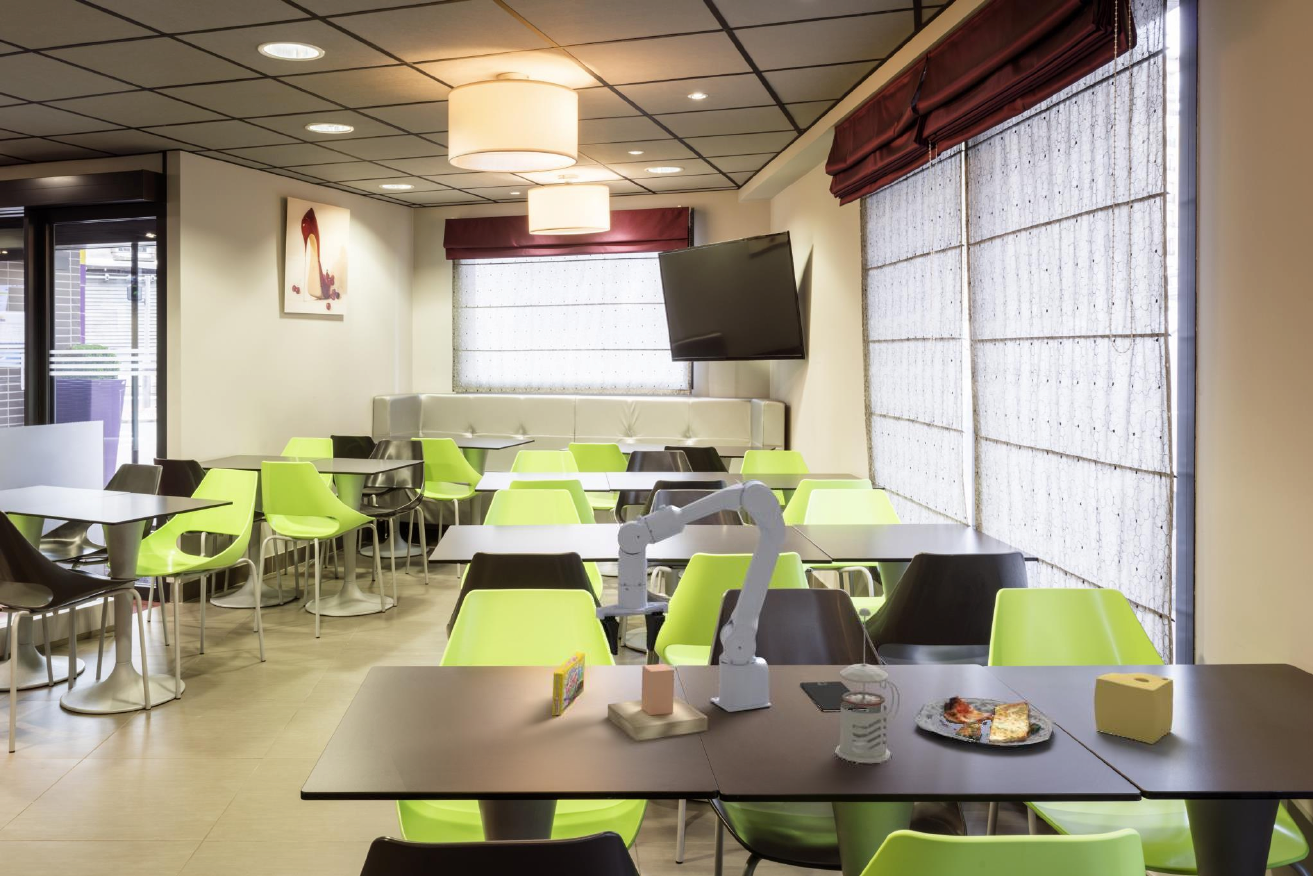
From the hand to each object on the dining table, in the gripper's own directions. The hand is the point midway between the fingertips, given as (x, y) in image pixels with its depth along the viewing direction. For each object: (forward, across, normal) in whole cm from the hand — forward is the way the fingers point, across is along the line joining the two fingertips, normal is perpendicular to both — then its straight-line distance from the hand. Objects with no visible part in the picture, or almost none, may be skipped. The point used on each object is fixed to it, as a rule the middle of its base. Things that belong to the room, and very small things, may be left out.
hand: (632, 652), depth 198 cm
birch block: (+11, 0, -12) cm, 16 cm away
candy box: (+11, -11, +6) cm, 17 cm away
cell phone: (+11, +39, -11) cm, 42 cm away
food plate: (+11, +54, -38) cm, 67 cm away
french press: (+11, +27, -40) cm, 49 cm away
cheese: (+11, +78, -50) cm, 93 cm away
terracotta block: (+8, 0, -12) cm, 15 cm away
